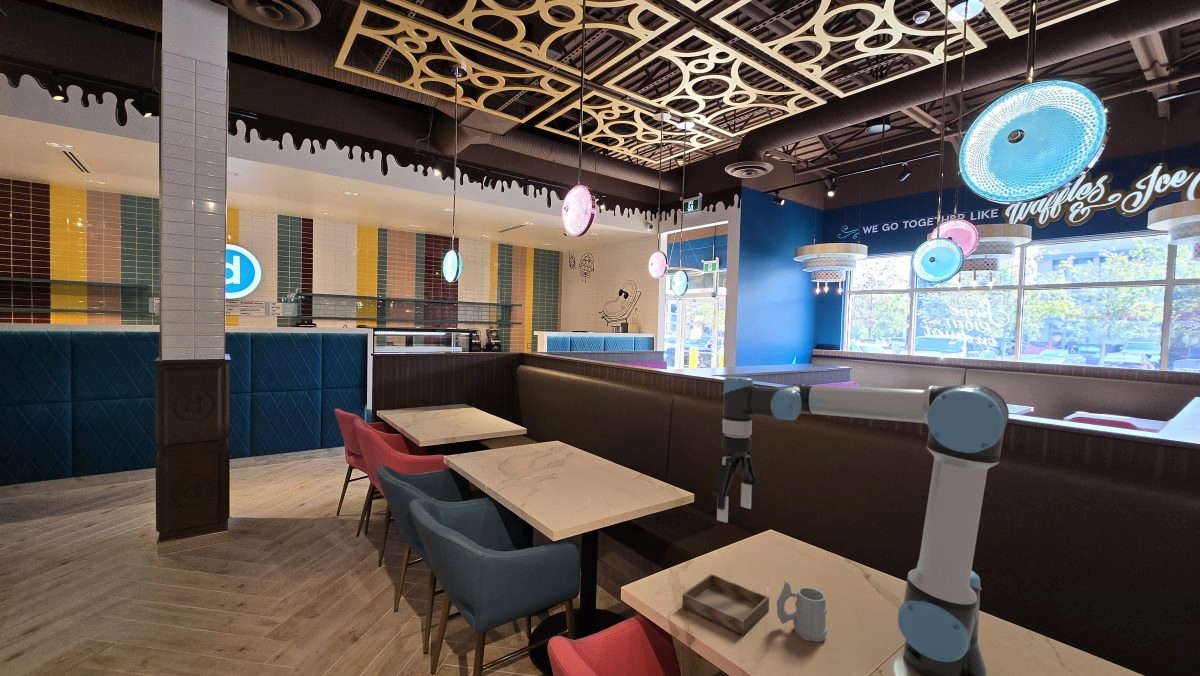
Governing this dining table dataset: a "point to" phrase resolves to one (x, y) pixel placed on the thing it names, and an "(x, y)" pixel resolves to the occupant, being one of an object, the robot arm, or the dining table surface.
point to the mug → (805, 612)
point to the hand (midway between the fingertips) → (734, 514)
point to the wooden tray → (726, 604)
